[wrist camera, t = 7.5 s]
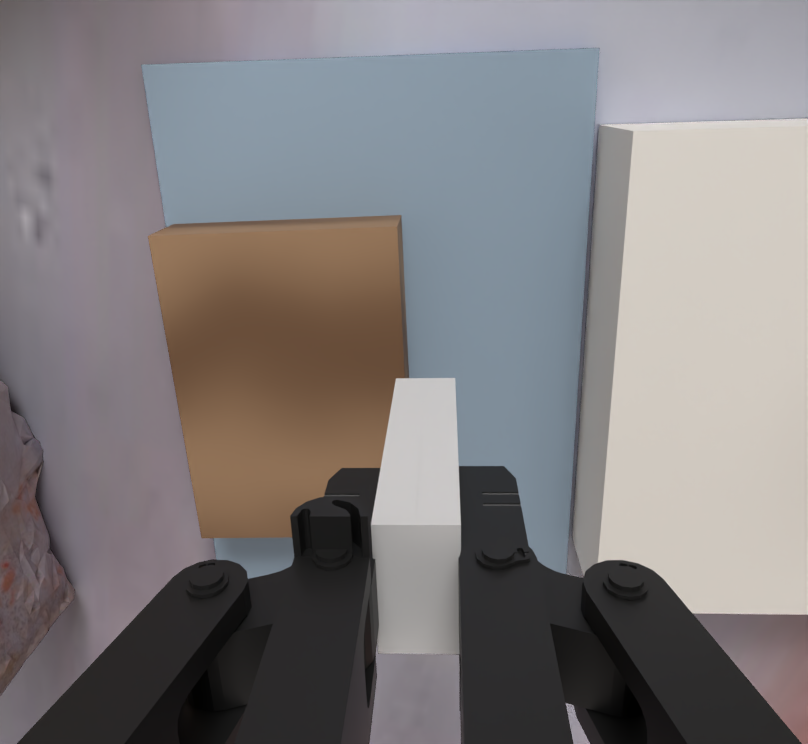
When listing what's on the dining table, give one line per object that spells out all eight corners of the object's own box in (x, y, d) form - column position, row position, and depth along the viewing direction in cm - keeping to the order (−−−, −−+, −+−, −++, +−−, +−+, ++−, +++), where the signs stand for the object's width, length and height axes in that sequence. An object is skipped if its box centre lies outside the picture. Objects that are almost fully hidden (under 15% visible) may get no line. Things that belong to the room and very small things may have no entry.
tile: (397, 226, 19) (401, 215, 21) (147, 235, 20) (173, 223, 22) (412, 536, 23) (415, 503, 25) (201, 538, 23) (219, 505, 25)
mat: (146, 65, 20) (141, 64, 20) (596, 48, 20) (599, 47, 19) (223, 579, 27) (220, 586, 27) (563, 582, 26) (565, 589, 26)
